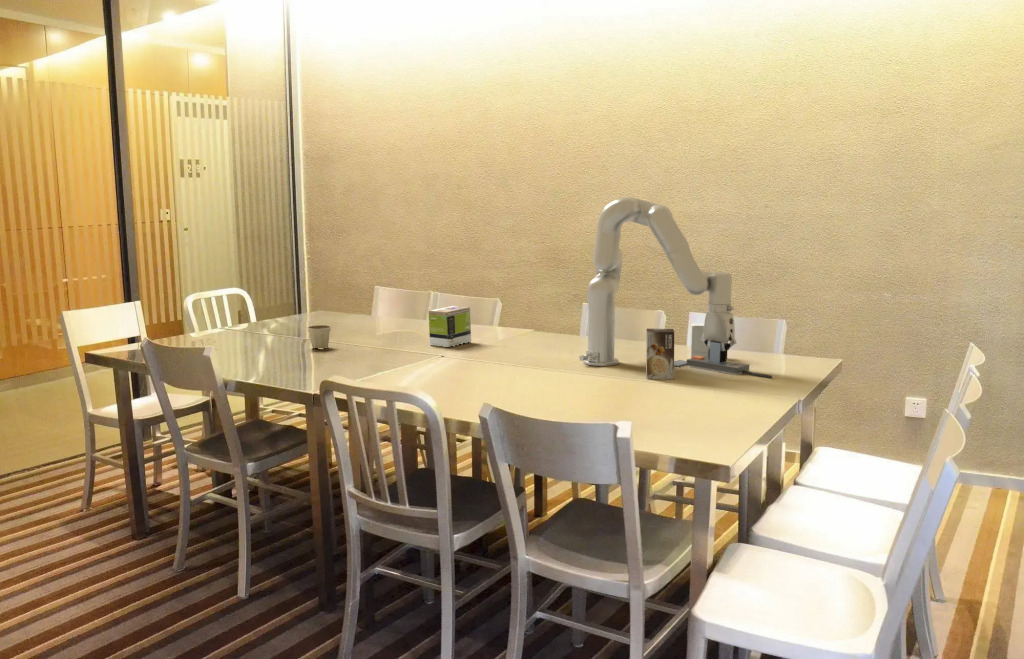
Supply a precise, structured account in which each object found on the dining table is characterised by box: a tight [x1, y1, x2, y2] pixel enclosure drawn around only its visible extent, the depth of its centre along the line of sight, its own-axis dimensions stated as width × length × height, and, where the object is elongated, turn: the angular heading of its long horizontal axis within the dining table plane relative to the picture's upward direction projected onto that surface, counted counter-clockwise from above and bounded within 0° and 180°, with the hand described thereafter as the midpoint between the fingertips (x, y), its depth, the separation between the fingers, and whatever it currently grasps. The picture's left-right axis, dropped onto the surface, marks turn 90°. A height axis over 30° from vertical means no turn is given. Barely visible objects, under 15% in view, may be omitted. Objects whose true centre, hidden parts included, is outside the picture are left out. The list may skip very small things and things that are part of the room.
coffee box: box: [645, 328, 675, 380], centre depth 279 cm, size 9×6×16 cm
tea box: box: [428, 305, 472, 348], centre depth 341 cm, size 15×10×15 cm, turn 144°
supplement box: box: [690, 322, 709, 359], centre depth 311 cm, size 7×7×13 cm
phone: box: [674, 359, 687, 368], centre depth 301 cm, size 10×6×1 cm, turn 135°
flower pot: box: [306, 324, 332, 349], centre depth 334 cm, size 9×9×9 cm
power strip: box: [686, 356, 773, 379], centre depth 289 cm, size 8×31×3 cm, turn 43°
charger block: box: [709, 341, 726, 364], centre depth 293 cm, size 4×4×8 cm
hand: (717, 360), depth 293 cm, fingers closed on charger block, 3 cm apart
